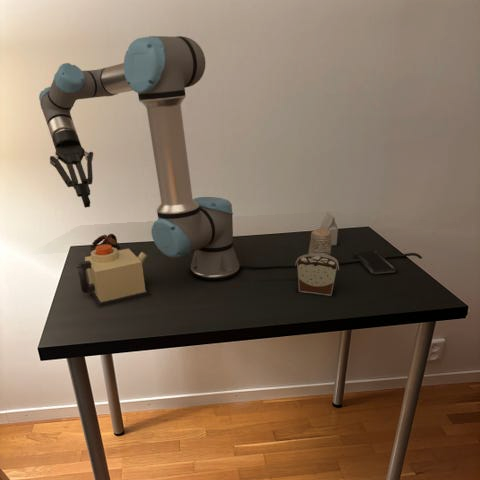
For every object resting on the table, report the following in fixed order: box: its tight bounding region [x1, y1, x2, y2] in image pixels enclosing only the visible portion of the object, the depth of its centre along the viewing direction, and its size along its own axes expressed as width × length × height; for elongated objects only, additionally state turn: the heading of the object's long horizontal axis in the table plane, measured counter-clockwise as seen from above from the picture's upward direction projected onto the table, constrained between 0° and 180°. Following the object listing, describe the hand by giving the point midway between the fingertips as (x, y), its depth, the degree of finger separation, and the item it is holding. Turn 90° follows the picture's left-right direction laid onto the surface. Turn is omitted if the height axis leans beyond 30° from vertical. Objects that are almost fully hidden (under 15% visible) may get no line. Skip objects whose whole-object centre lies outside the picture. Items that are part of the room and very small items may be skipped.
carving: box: [307, 228, 332, 256], centre depth 155 cm, size 6×8×12 cm
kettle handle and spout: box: [76, 251, 149, 307], centre depth 142 cm, size 20×13×11 cm, turn 119°
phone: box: [355, 251, 397, 275], centre depth 158 cm, size 8×1×15 cm
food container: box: [294, 253, 340, 297], centre depth 141 cm, size 12×6×10 cm, turn 71°
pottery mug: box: [89, 233, 122, 252], centre depth 169 cm, size 12×10×8 cm
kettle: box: [84, 247, 147, 302], centre depth 142 cm, size 13×12×12 cm
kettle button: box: [96, 244, 112, 255], centre depth 140 cm, size 4×4×2 cm
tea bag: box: [320, 211, 339, 246], centre depth 174 cm, size 4×7×10 cm, turn 12°
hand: (87, 204), depth 144 cm, fingers closed
